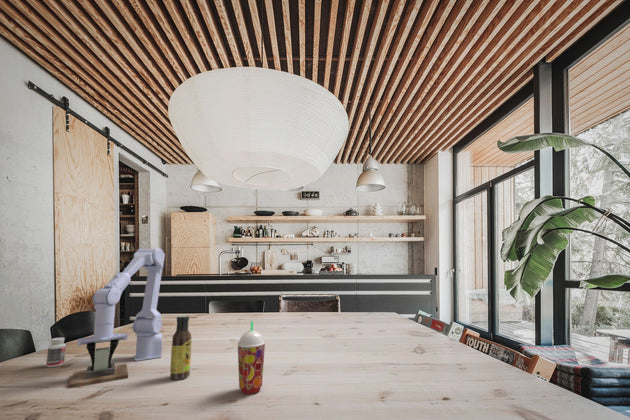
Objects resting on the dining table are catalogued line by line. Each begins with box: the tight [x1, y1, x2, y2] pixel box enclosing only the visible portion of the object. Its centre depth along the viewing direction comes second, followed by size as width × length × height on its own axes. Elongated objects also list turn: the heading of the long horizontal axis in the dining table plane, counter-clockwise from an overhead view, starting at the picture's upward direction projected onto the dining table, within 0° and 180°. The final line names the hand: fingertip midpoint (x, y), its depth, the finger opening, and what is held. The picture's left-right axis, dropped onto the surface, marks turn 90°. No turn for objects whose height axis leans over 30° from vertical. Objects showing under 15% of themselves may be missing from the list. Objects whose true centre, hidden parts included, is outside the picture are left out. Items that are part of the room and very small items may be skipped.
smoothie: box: [237, 320, 266, 395], centre depth 100 cm, size 8×8×20 cm
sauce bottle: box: [169, 314, 192, 380], centre depth 112 cm, size 6×6×20 cm
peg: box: [94, 346, 110, 371], centre depth 113 cm, size 4×4×7 cm
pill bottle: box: [46, 337, 67, 368], centre depth 125 cm, size 5×5×10 cm
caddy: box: [68, 361, 129, 389], centre depth 112 cm, size 16×14×3 cm
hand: (101, 364), depth 112 cm, fingers closed on peg, 4 cm apart
